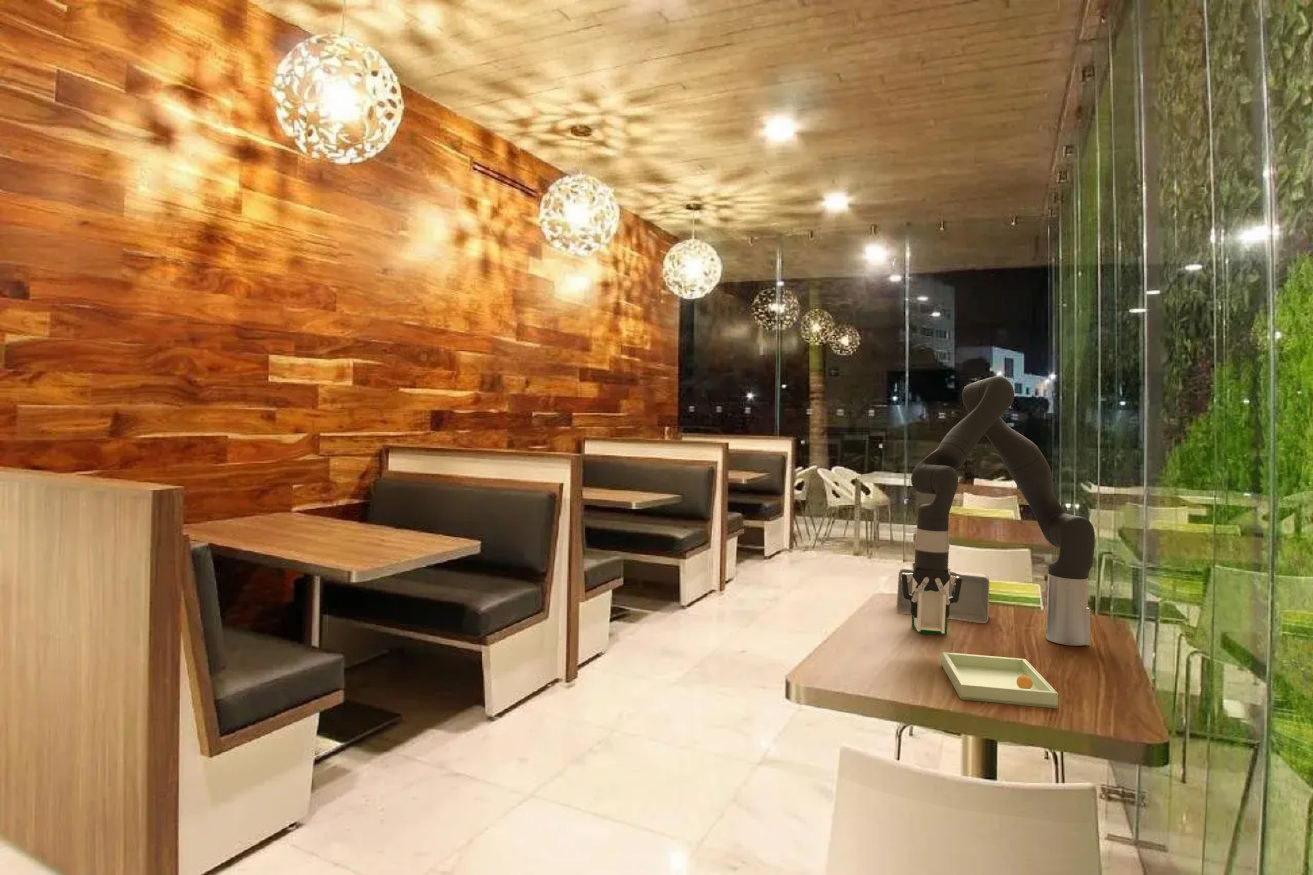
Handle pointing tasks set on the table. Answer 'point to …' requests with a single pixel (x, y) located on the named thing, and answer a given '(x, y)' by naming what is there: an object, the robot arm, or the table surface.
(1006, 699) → the tray
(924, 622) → the mini side table
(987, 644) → the table surface
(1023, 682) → the mixing ball
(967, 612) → the grey rectangular box
